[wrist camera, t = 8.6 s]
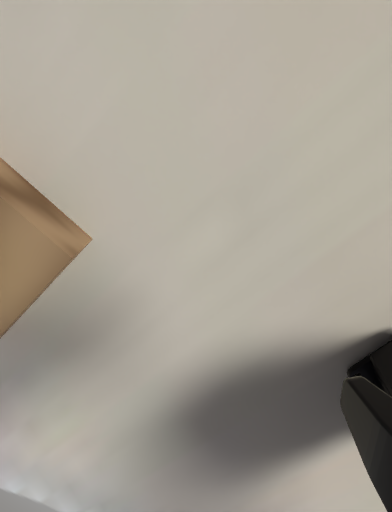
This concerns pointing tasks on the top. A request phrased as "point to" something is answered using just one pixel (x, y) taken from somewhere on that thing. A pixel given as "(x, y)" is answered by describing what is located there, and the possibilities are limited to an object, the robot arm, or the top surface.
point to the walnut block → (30, 244)
